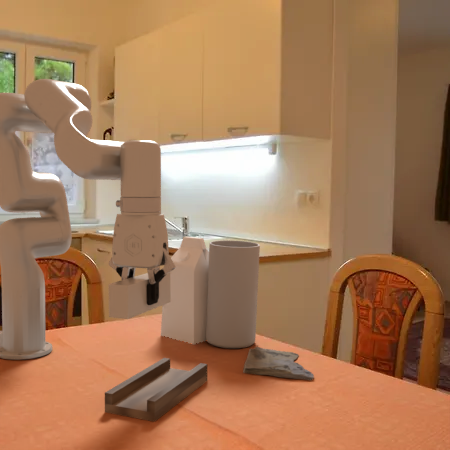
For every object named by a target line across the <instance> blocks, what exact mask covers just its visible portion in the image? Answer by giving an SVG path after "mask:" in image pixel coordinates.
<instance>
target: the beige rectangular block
mask: <svg viewBox="0 0 450 450" xmlns="http://www.w3.org/2000/svg"><path fill="white" fill-rule="evenodd" d="M147 284H149V278H148V272H146V273H143V274H139V275H134V277H132V278H128V279H124V280H121V279H120V280H117V281H114V282H111V283H108V318H114V319H122V320H123V319H124V320H130V319H133V318H134V317H137V316H139V315H142V314H145V313H147V312H149V311H152V310H154V309H156V308H159V307H162V306H163V305H164V304H167V303H169V302H171V291H170V273H168V274H166V276H165V277H164V278H163V279H162V281H161V282H159V299H158V302H157V303H155V304H152V305H147Z"/></svg>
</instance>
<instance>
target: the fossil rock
mask: <svg viewBox="0 0 450 450" xmlns="http://www.w3.org/2000/svg"><path fill="white" fill-rule="evenodd" d="M299 356H300V355H299V353H295V352H293V351H284V350H283V351H281V350H277V349H269V348H263V347H260V346H259V347H258V346H255V347H254V348H249V349H248V353H247V358H246V359H245V362H244V364H243V365H244V366H243V371H242V372H243V373H242V374H250V375H251V374H252V375H255V376H256V375H258V376H272V377H275V378H276V377H277V378H282V379H285V378H286V379H292V380H293V379H295V380H296V379H297V380H305V381H307V380H308V381H313V379H314V373H312V372H311V371H310V370H309V369H306V368H305V367H303V365H302V364H299V362H295V361H297V359H298V358H299Z"/></svg>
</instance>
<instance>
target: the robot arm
mask: <svg viewBox="0 0 450 450" xmlns="http://www.w3.org/2000/svg"><path fill="white" fill-rule="evenodd" d="M23 93H24V94H23ZM23 93H16V92H0V209H2V210H3V211H5V212H7V213H13V214H14V213H18V214H19V213H20V214H22V213H39V215H40V216H38V217H34V216H33V217H32V216H30V217H29V216H28V217H18V218H17V217H15V218H12V219H8V220H5V221H3V222H2V223H1V224H0V277H1V279H0V280H1V311H2V312H1V314H2V315H1V319H2V320H1V321H2V323H1V325H2V326H1V327H2V330H0V358H1V359H4V360H13V361H14V360H16V361H17V360H30V359H36V358H40V357H44V356H47V355H48V354H50V353H51V352H52V351H53V345H52V343H50V342H49V341H46V285H45V284H46V282H45V281H46V279H45V274H44V272H43V270H42V268H41V267H40V265H39V264H38V261H36V259H38V258H44V257H45V258H46V257H52V256H53V257H54V256H59V255H64V254H65V253H67V251H68V250H70V246H71V245H72V238H73V233H72V226H71V219H70V213H69V206H68V200H67V193H66V188H65V186H64V184H63V182H62V180H61V179H60V178H59V177H58V176H57V175H55V174H53V173H52V172H51V173H49V172H41V171H40V172H37V171H34V170H33V168H32V163H31V157H30V156H31V155H30V152H29V150H28V148H27V147H26V145H25V144H24V142H23V141H22V139H21V138H20V137H19V136H18V135H17V134H16V132H23V133H24V132H25V133H35V134H36V133H37V134H53V135H54V136H53V145H54V149H55V154H56V155H57V158H59V159H58V160H60V161H61V162H62V164H63V165H64V166H66V168H68V170H70V171H71V172H72V173H73V174H75V175H76V176H78V177H79V178H81V179H84V180H92V181H93V180H98V181H99V180H104V181H105V180H110V181H120V198H119V199H118V200H116V202H115V207H117V208H120V213H117V214H116V218H115V221H114V222H115V223H114V227H113V233H112V235H113V236H112V249H111V251H112V255H111V258H110V260H109V262H108V266H109V267H111V268H112V269H113V270H114V271H116V273H117V274H118V276H119V277H120V278H121V279H120V281H121V280H124V279H128V278H132V277H135V276H136V275H135V274H136V269H137V268H139V269H146V271H147V272H146V273H148V278H149V284H147V305H152V304H155V303H157V302H158V299H159V282H161V281H162V279H163V278H164V277H165V276H166V274H168V273H169V272H171V271H172V270H174V269H175V265H174V263H173V261H172V259H171V255H169V236H168V229H167V223H166V217H165V214H163V213H162V151H161V149H162V148H161V146H160V144H159V143H158V142H156V141H154V140H142V139H141V140H132V139H131V140H126V141H115V140H104V139H90V138H89V137H86V136H87V135H88V134H89V133H90V131H91V129H92V126H93V116H92V113H91V109H92V100H91V99H92V98H91V96H90V94H89V91H88V90H87V89H86V88H85V87H84V86H82V85H81V84H78V83H74V82H67V81H62V80H56V79H50V78H40V79H36V80H33V81H32V82H30V83H29V84H28V85H27V86H26V88H25V90H24V92H23ZM161 266H163V268H161Z"/></svg>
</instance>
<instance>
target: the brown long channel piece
mask: <svg viewBox="0 0 450 450" xmlns="http://www.w3.org/2000/svg"><path fill="white" fill-rule="evenodd" d="M206 382H208V364H207V363H202V362H200V363H199V364H197V365H196V366H194V367H193V368H192V369H189V370H186V369H185V370H184V369H178V368H173V367H171V358H168V357H167V358H166V357H163V358H162V359H161V358H160V359H159V360H158V361H156V362H155V363H153V364H151V365H149V366H148V367H146V368H144V369H143V370H140V371H139V372H138V373H136V374H135V375H132V376H130V377H129V378H127V379H125V380H124V381H122V382H121V383H119V384H117V385H116V386H113V387H112V388H110V389H109V390H107V391H105V392H104V413H106V414H107V413H108V414H114V415H117V416H118V415H119V416H123V417H128V418H129V417H130V418H134V419H140V420H146V421H150V422H156V421H157V420H159V419H160V418H161V417H162V416H164V415H165V414H166V413H167V412H169V411H170V410H172V409H173V408H174V407H175V406H177V405H178V404H179V403H181V402H183V400H184V399H185V398H187V397H188V396H190V395H191V394H192V393H193V392H195V391H196V390H198V389H199V388H200V387H201V386H203V385H204V384H205V383H206Z"/></svg>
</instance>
